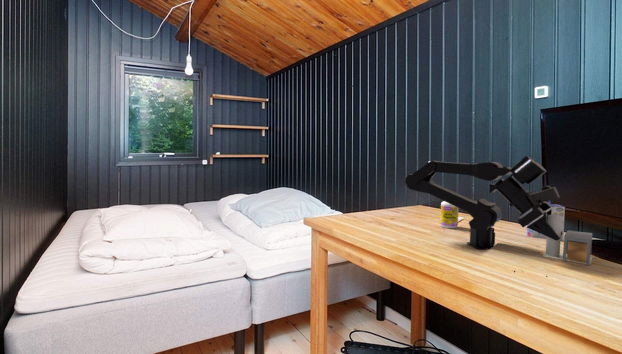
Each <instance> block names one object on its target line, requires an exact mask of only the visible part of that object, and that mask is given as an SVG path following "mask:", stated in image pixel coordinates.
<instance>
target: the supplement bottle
mask: <svg viewBox="0 0 622 354" xmlns="http://www.w3.org/2000/svg"><path fill="white" fill-rule="evenodd" d="M459 209H460V208H458V207H456V206H454V205H452V204H449V203H447V202H445V201H443V200H442V202H441V203H440V216H439V217H440V218H439V219H440V220H439V221H440V222H439V224H440V227H442V228H445V229H457V228H458V227H459V226H458V225H459Z"/></svg>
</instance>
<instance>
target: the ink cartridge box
mask: <svg viewBox="0 0 622 354" xmlns="http://www.w3.org/2000/svg"><path fill="white" fill-rule="evenodd" d="M551 201H552V200H549V201H547V202H548V203H549V204H550V205H551V206H552V207H551V208H549V209H548V210H547V211H549V210H551V209H552V215H559V216H562V224H561V231H562V233H563V234H562V235H561V241H560V242H564V236H565V231H564V230H565V215H566V214H565V212H566V206H564V205H561V204H553V203H552V202H551ZM528 225H530V223H529V224H528ZM528 225H526V227H527V226H528ZM526 237H528V238H535V239H542V240H546V238H547V236H545V235H543V234H540V233H538V232H536V231H534V230H531V229H529V228H526Z"/></svg>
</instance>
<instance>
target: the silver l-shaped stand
mask: <svg viewBox="0 0 622 354" xmlns="http://www.w3.org/2000/svg"><path fill="white" fill-rule="evenodd" d="M547 222H548V223H549V224H550V226H551V227H552V228H553V230H554V231H555V232H556V233H557V235H558V236H559V238H560V239H559V240H557V241H556V240H554V239H551V238H549V237H547V238H546V239H545V241H546V243H545V253H544V254H543V257H546V258H550V259H551V258H552V259H557V260H562V261H563V253H561V242H562V241H561V224H562V216H559V215H548V219H547ZM566 261H568V262H574V263H580V264H584V265H586V263H585V262H579V261H574V260H568V259H567V254H566ZM592 261H593V255H592V254H591V255H590V262H589V265H592Z"/></svg>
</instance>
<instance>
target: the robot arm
mask: <svg viewBox="0 0 622 354" xmlns="http://www.w3.org/2000/svg"><path fill="white" fill-rule="evenodd" d="M437 173H443V174H452V175H453V174H455V175H464V176H471V177H474V178H477V179H480V180H484V181H489V182H491V181H496V180H497V181H496V182H495V183H490V184H489V191H488V193H490V194H493V193H495V192H496V191H497V192H498V193H499V194H500V195H501V196H502V197H503V198H504V199H505V200H506V201H507V202H509V204H508V205H509V207H511V208H512V207H513V208H514V209H516V211H517V212H519V216H518V217H517V223H518V225H520V226H521V227H522V228H525V227H526V229H527V228H529V229H531V230H534V231H536V232H538V233H540V234H543V235H545V236H547V237H549V238H551V239H554V240H556V241H557V240H559V239H560V238H559V236H558V235H557V233H556V232H555V231H554V230H553V228H552V227H551V226H550V224H549V223H548V222H547V219H548V215H552V209H551V210H549V211H547V210H548V209H549V208H551V207H552V206H551V205H550V204H549V203H548V202H549V200H550V201H555V200H558V199H560V198H561V196H560V194H559V192H558V189H557V187H556V186H554V187H552V186H550V185H546V186H543V187H541V191H537V192H534V193H533V191H531V190H527V189H525V188H524V187H523V186H522V185H525V184H527V185H531V184H532V183H533V182H536V181H537V180H538V179H539V178H540V177H542V176H543V175H544V174H545V173H547V170H546V168H544V166H542V164H540V163H539V162H536V160H534V159H532V158H531V157H530V156H529V155H525V156H524V157H522V159H521V160H520V161H519V162H517V163H516V164H515V165H514V166H513V167H511V166H503V165H502V163H500V162H497V161H489V162H479V163H478V162H477V163H465V162H452V161H451V162H450V161H438V160H429V161H427V163H425V164H424V165H423V166H422V167H420V168H419V169H418V170H416V171H414V172H413V173H410V174H408V175H407V176H406V177H405V180H404V181H405V184H404V185H405V187H406V188H407V189H408V190H411V191H415V192H418V193H419V192H420V193H423V194H428V195H430V196H433V197H435V198H436V199H439V200H441V201H442V202H443V201H445V202H447V203H449V204H452V205H454V206H456V207H458V208H459V209H460V210H463V212H466V213H467V214H469V215H470V217H472V219H471V220H469V221H468V225H469V242H466V245H469V246H471V247H473V248H476V249H477V250H491V249H492V248H494V247H495V244H496V232H495V228H494V226H495V225H496V223H497V222H499V221H500V220H502V217H503V211H502V210H501V208H500V207H499V206H497V203H496V202H490V201H489V200H488V199H485V198H481V199H478V200H473V199H471V198H469V197H467V196H464V195H462V194H460V193H457V192H456V191H453V190H450V189H448V188H446V187H444V186H442V185H439V184H437V183H435V181H434V180H432V179H433V177H434V176H435V175H436V174H437ZM507 175H509V176H508V177H507V178H505V179H504V178H502V177H503V176H507ZM521 184H522V185H521ZM529 223H530V225H528V224H529ZM527 225H528V226H527ZM562 234H563V233H562V231H561V235H562Z"/></svg>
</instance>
